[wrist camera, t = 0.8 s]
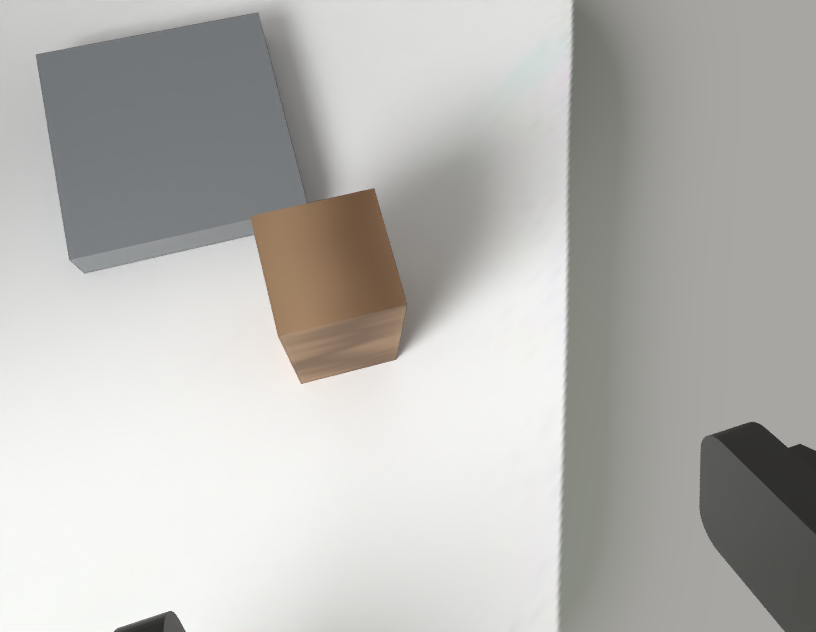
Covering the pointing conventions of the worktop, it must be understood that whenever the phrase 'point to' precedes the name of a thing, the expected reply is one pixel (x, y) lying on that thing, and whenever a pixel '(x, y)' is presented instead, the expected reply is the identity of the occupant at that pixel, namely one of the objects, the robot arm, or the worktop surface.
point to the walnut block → (332, 284)
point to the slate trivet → (166, 140)
